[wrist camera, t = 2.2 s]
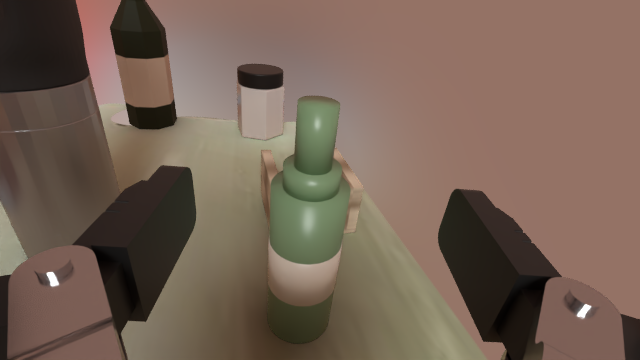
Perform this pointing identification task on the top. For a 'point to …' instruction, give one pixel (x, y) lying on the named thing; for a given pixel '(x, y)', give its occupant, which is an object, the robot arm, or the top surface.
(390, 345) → the top surface
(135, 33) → the wine bottle
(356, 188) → the cradle
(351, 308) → the top surface
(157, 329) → the top surface
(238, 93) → the jar
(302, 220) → the green bottle
